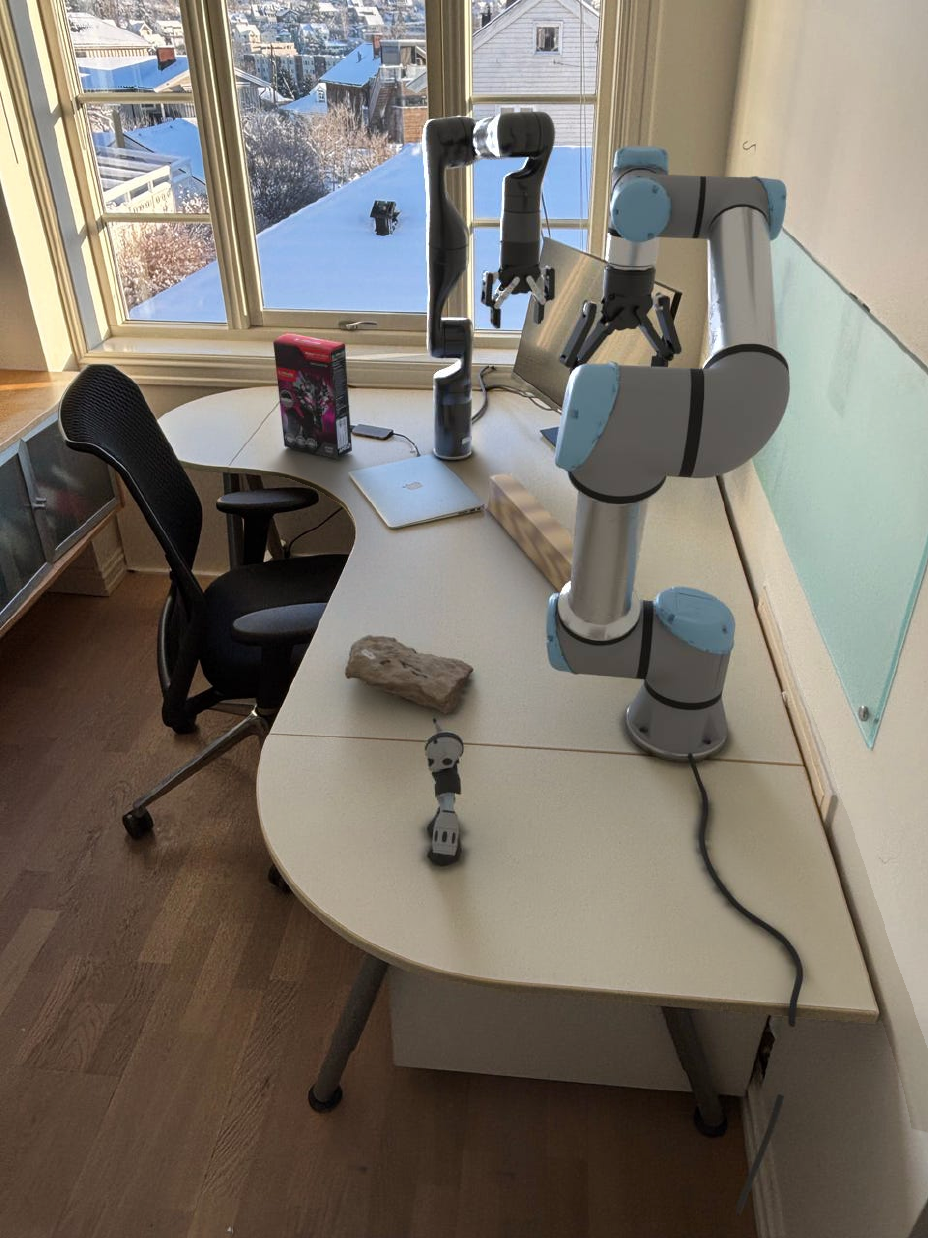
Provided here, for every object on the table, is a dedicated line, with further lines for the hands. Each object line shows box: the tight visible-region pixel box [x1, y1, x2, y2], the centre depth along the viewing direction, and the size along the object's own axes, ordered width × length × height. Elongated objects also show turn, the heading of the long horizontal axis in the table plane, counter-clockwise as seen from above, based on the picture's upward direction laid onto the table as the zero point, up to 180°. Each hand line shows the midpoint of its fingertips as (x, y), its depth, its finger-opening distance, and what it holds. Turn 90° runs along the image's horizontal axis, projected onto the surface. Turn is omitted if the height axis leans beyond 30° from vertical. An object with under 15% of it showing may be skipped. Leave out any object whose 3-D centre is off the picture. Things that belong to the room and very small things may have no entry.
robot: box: [423, 717, 465, 867], centre depth 118 cm, size 20×5×20 cm, turn 3°
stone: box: [344, 634, 474, 714], centre depth 150 cm, size 21×15×6 cm
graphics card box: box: [272, 332, 353, 460], centre depth 223 cm, size 17×7×27 cm, turn 62°
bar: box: [487, 472, 574, 593], centre depth 183 cm, size 51×5×8 cm, turn 21°
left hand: (516, 325), depth 177 cm, fingers open, 8 cm apart
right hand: (616, 403), depth 147 cm, fingers open, 13 cm apart
